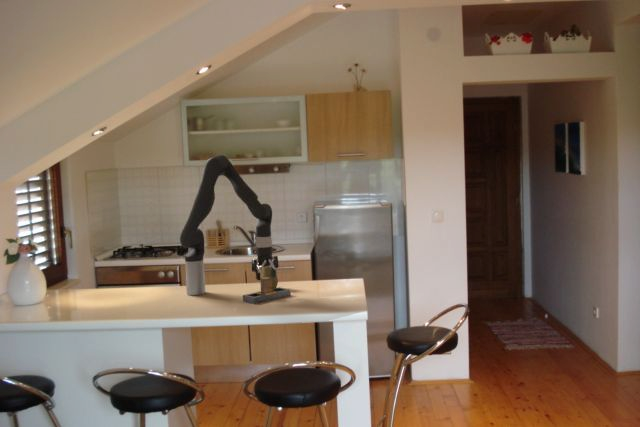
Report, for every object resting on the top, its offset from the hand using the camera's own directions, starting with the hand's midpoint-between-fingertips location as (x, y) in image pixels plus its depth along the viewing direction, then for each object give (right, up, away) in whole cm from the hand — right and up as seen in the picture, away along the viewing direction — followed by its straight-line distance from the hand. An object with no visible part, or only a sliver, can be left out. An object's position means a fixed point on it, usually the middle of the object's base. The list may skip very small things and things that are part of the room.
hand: (265, 278), depth 339 cm
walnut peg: (+1, -10, +1) cm, 10 cm away
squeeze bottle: (+1, -8, +22) cm, 23 cm away
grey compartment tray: (+1, -10, +1) cm, 10 cm away
